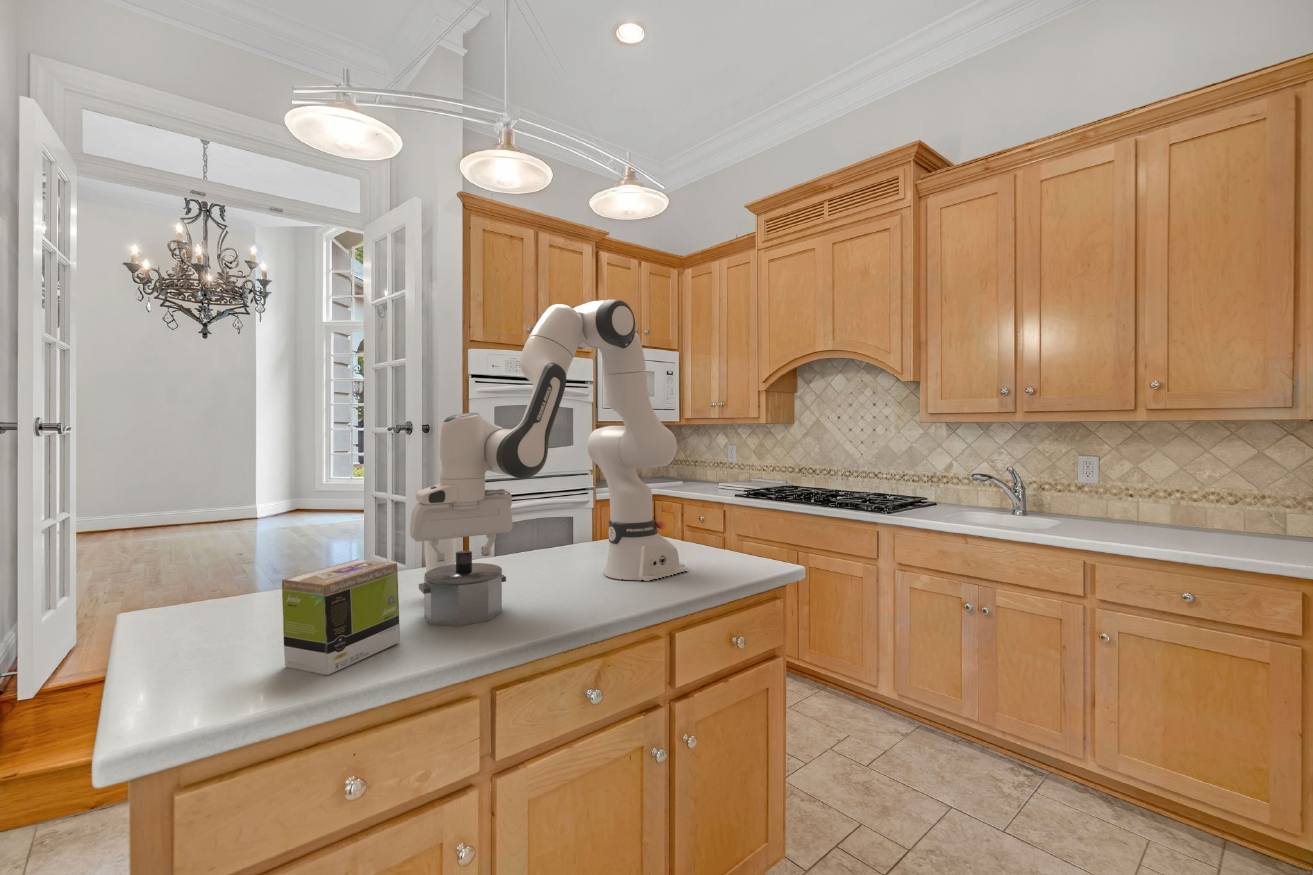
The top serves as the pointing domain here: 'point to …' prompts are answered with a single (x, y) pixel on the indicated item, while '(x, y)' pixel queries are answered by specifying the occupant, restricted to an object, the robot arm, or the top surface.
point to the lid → (463, 572)
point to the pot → (462, 602)
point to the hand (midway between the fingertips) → (463, 558)
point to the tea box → (340, 615)
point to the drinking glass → (444, 545)
